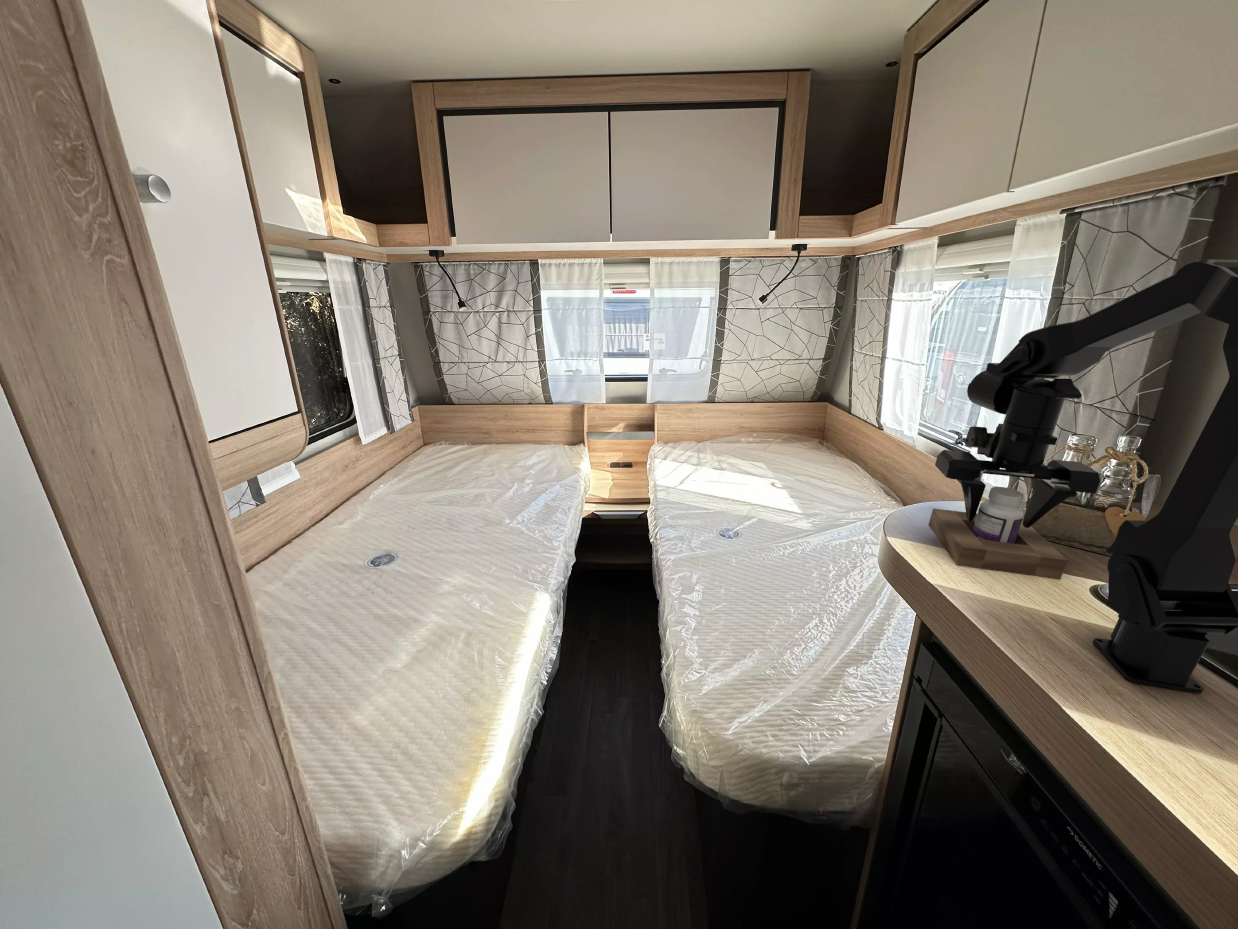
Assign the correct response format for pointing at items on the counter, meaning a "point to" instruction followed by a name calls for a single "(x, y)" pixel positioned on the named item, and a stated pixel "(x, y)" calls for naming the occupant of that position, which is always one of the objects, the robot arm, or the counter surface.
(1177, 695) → the counter surface
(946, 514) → the walnut holder
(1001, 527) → the pill bottle
